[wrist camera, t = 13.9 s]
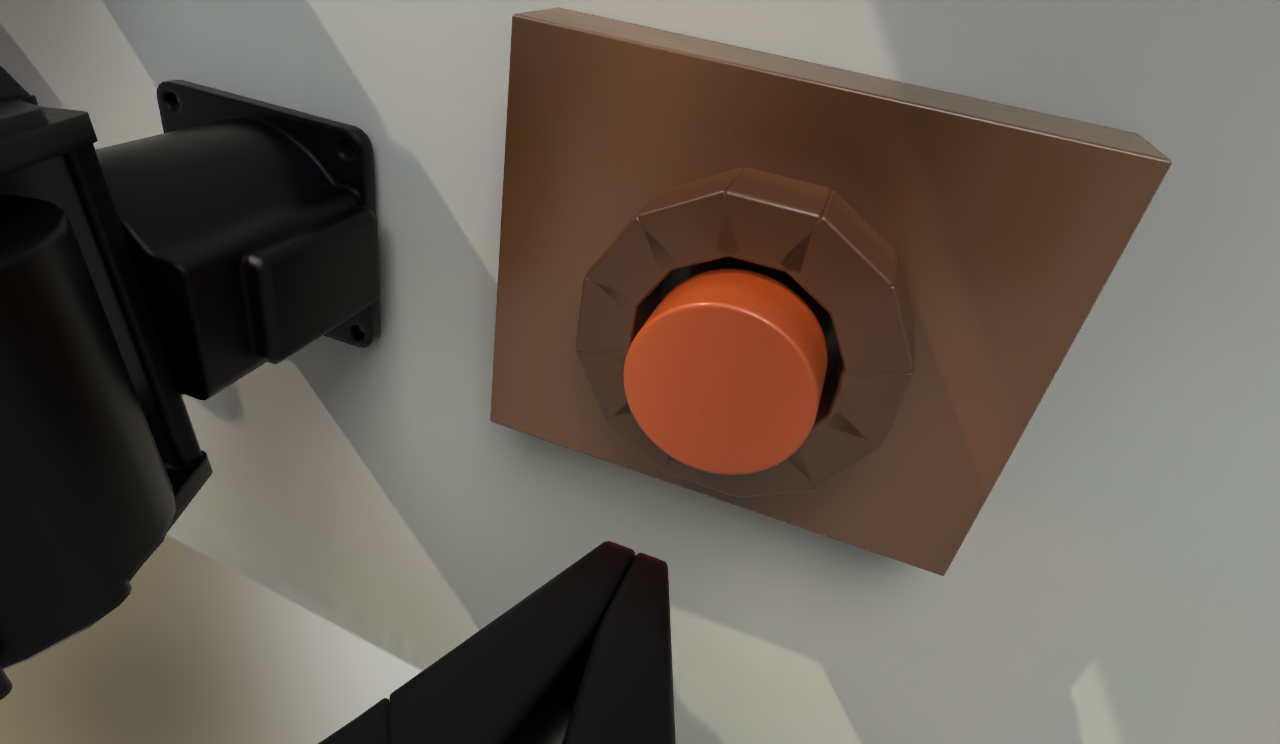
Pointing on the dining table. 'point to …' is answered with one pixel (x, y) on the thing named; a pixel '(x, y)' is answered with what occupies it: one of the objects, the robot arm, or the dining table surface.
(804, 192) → the control block
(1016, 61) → the dining table surface
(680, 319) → the button
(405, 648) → the dining table surface
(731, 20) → the dining table surface
